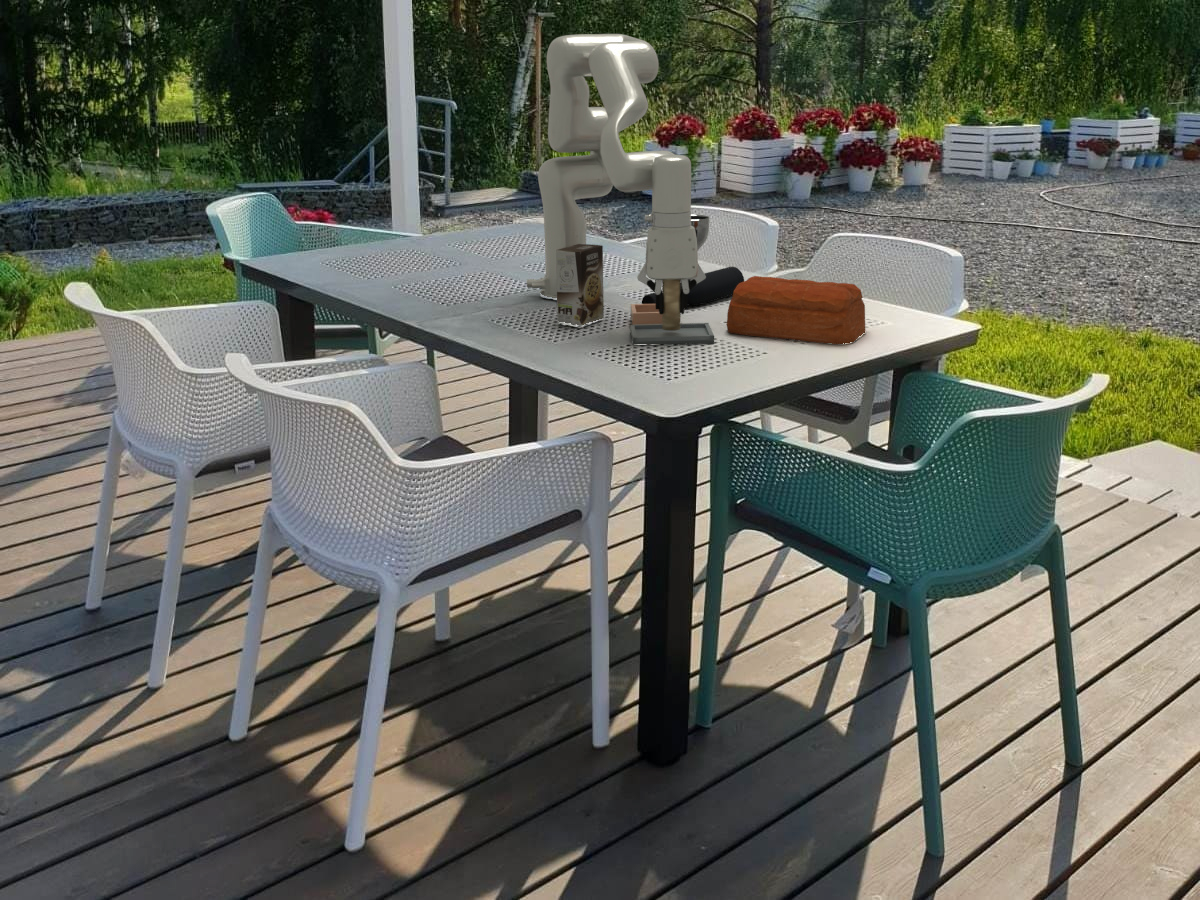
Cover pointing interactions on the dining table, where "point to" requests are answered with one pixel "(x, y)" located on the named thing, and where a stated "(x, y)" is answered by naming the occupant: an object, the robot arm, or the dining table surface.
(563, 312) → the coffee box
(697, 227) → the wine glass
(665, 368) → the dining table surface
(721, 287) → the wine bottle
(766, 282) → the bread
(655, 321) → the square copper frame
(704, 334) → the tray
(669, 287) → the dowel
